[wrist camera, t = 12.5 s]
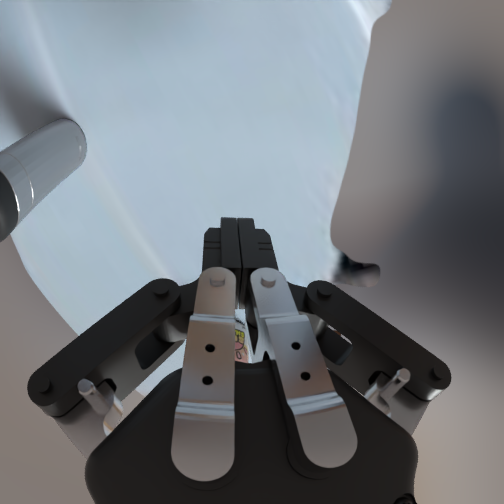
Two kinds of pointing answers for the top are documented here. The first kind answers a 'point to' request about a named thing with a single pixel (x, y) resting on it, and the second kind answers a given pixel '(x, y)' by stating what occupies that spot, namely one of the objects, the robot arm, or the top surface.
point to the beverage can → (241, 343)
